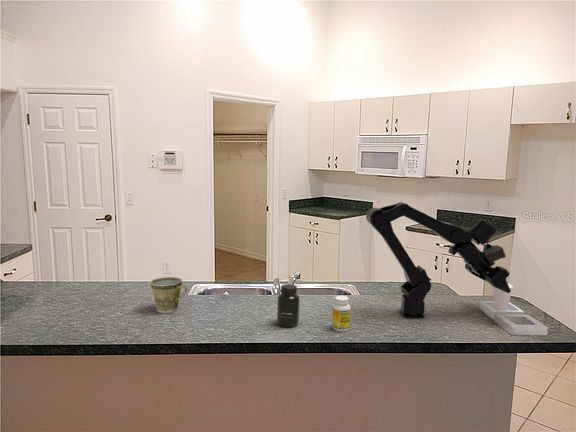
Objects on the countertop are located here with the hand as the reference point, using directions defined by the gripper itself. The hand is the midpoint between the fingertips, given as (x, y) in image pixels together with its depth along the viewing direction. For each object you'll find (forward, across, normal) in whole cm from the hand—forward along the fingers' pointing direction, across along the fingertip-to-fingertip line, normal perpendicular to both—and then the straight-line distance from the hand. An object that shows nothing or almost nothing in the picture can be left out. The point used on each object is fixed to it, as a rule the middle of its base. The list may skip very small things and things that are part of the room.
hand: (501, 287), depth 136 cm
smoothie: (+6, 0, +6) cm, 9 cm away
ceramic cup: (-70, +2, +85) cm, 110 cm away
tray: (+7, 0, +6) cm, 9 cm away
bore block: (+7, -11, +6) cm, 14 cm away
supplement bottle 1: (-43, -8, +57) cm, 72 cm away
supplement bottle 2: (-32, -12, +46) cm, 57 cm away
